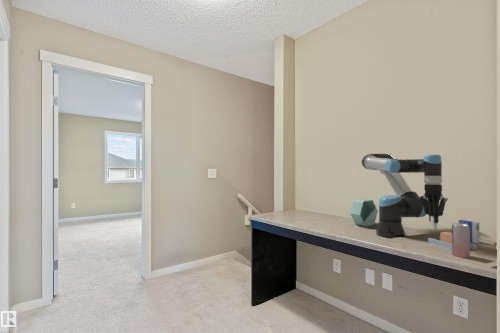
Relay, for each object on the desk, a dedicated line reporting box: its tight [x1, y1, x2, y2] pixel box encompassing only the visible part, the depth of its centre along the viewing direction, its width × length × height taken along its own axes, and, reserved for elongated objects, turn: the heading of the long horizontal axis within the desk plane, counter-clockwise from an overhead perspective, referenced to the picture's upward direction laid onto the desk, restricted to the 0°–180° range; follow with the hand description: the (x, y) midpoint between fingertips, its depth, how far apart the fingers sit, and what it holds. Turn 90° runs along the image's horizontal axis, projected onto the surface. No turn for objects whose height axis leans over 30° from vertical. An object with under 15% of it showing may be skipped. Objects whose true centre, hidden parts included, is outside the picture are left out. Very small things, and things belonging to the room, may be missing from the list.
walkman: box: [458, 219, 481, 244], centre depth 132 cm, size 8×3×12 cm, turn 25°
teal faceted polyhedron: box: [350, 198, 379, 227], centre depth 177 cm, size 17×8×21 cm
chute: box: [427, 237, 477, 251], centre depth 125 cm, size 16×11×4 cm
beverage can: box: [451, 222, 471, 259], centre depth 111 cm, size 6×6×15 cm
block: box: [439, 231, 452, 244], centre depth 125 cm, size 6×6×6 cm
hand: (433, 228), depth 133 cm, fingers closed
